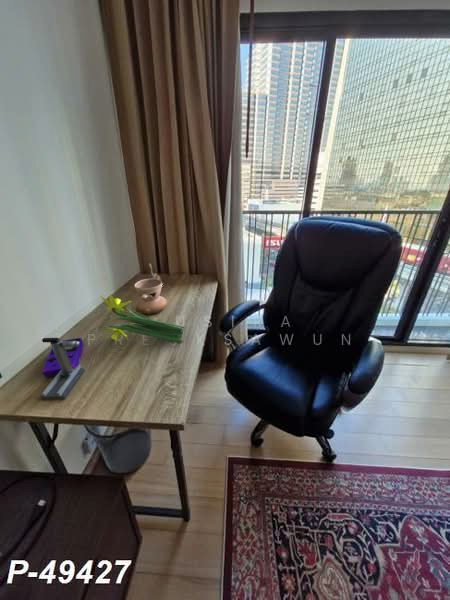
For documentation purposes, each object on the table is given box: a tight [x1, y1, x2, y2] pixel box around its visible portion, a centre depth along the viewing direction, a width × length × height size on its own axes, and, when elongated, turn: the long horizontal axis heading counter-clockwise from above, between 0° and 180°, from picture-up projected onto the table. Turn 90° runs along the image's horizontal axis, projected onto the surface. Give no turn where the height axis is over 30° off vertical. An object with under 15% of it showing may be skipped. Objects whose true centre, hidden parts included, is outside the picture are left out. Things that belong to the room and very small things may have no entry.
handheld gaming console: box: [41, 337, 84, 378], centre depth 89 cm, size 9×5×15 cm
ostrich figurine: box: [146, 263, 162, 281], centre depth 141 cm, size 17×7×18 cm, turn 171°
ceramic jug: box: [134, 278, 168, 315], centre depth 121 cm, size 18×14×14 cm
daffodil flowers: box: [99, 293, 185, 344], centre depth 99 cm, size 17×15×35 cm
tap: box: [41, 337, 80, 377], centre depth 79 cm, size 10×3×14 cm, turn 91°
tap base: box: [39, 364, 86, 401], centre depth 79 cm, size 7×12×3 cm, turn 1°
